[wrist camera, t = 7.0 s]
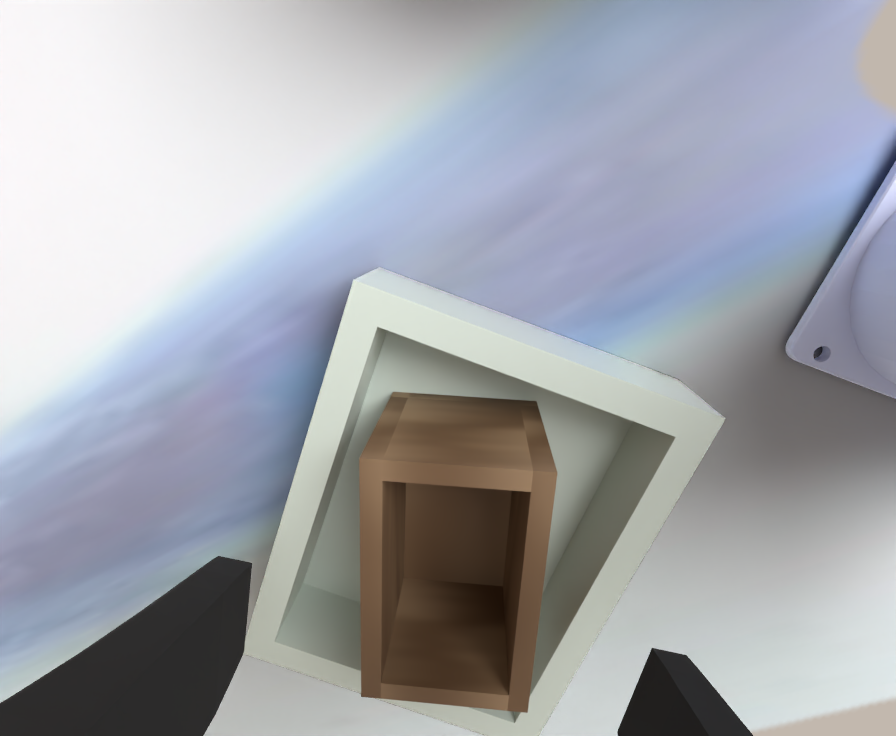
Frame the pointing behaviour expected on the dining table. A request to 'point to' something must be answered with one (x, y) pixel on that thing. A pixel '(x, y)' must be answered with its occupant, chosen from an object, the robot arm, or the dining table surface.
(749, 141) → the dining table surface
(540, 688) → the white shallow tray
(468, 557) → the small crate
